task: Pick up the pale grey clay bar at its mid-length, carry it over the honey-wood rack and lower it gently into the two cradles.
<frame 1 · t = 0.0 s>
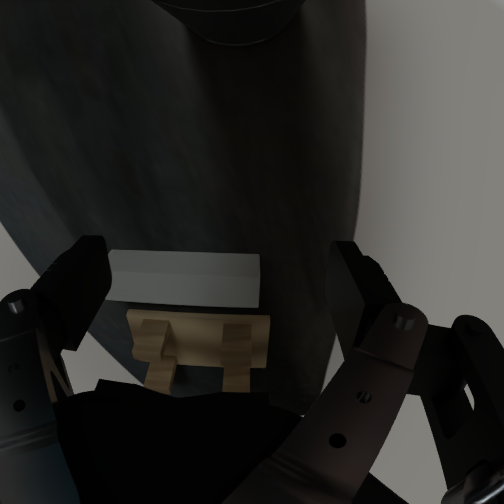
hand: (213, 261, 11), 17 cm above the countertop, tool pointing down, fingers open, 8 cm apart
clay bar: (183, 265, 32), on the countertop
rack: (199, 338, 37), on the countertop
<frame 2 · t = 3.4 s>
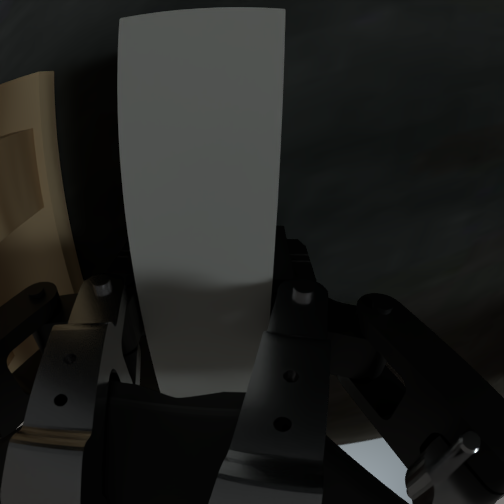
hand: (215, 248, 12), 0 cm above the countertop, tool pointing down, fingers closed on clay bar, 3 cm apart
clay bar: (217, 250, 12), on the countertop, touching gripper
rack: (14, 260, 12), on the countertop
when the fingers open (2 cm above the countertop, at t = 7.6 s): clay bar stays where it is, resting on rack.
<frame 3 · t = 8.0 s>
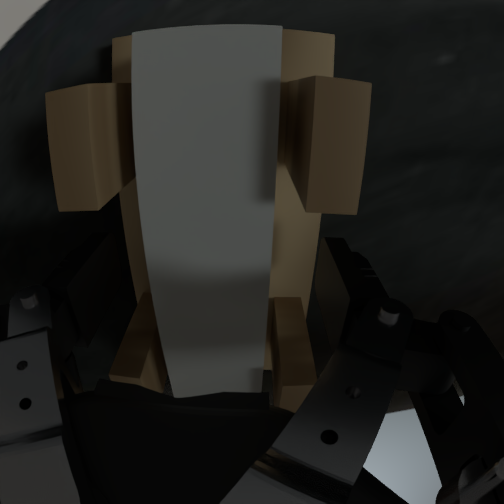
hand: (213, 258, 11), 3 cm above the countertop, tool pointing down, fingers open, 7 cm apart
clay bar: (219, 240, 13), point 1 cm above the countertop, touching rack
rack: (220, 224, 14), on the countertop
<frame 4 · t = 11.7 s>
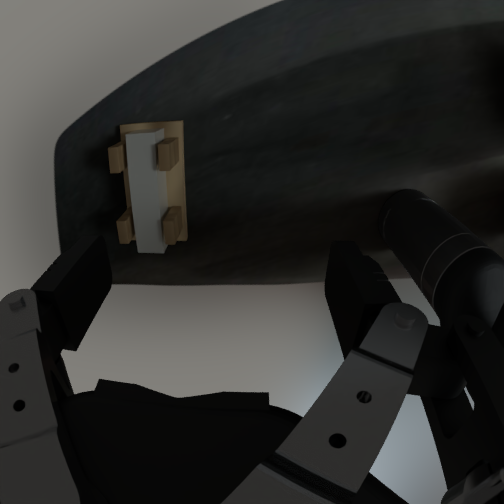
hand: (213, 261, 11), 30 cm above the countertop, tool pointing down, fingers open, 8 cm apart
clay bar: (153, 186, 39), point 1 cm above the countertop, touching rack
rack: (155, 182, 40), on the countertop
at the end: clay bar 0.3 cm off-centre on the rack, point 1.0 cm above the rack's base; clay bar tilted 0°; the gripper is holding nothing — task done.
